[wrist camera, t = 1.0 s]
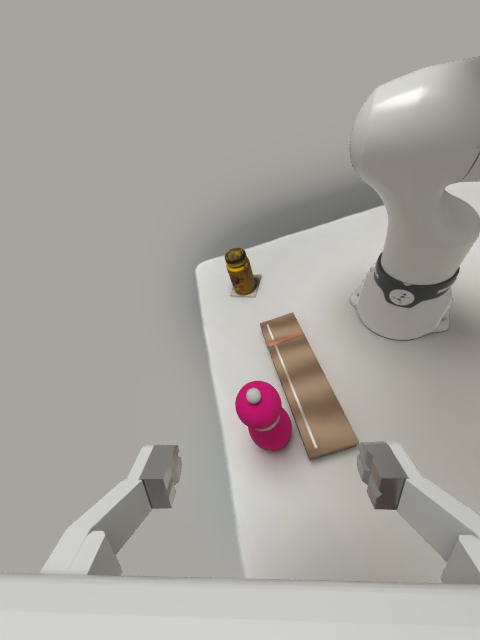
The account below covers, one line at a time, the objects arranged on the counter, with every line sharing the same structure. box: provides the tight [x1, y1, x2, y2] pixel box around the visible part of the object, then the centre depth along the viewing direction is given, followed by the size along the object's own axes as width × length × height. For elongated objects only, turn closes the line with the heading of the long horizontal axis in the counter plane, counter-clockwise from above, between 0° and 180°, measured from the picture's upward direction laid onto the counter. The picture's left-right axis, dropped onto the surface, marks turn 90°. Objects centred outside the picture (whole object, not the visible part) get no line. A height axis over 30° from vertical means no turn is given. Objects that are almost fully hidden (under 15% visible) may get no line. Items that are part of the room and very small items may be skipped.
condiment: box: [225, 248, 262, 297], centre depth 63 cm, size 7×8×12 cm
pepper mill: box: [235, 381, 292, 451], centre depth 36 cm, size 7×7×20 cm
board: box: [260, 313, 359, 460], centre depth 47 cm, size 28×8×3 cm, turn 14°
